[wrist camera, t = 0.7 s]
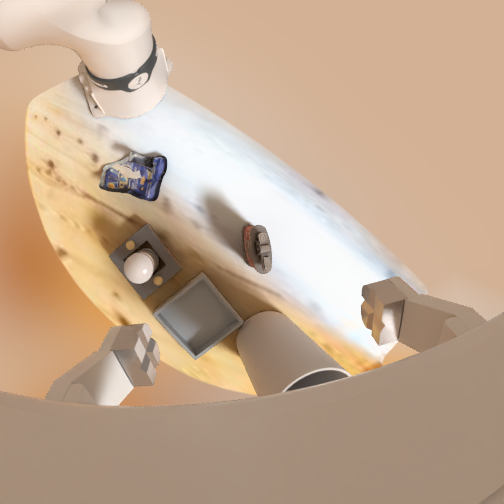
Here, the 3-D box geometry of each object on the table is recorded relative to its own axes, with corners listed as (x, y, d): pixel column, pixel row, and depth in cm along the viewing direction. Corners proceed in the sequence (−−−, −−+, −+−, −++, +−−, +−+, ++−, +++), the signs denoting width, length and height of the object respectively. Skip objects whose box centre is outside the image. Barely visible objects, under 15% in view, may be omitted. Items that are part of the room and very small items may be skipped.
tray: (154, 309, 51) (152, 314, 48) (202, 270, 52) (203, 273, 49) (194, 353, 53) (195, 360, 50) (241, 317, 55) (244, 322, 52)
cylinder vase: (225, 353, 55) (253, 433, 30) (253, 300, 55) (302, 356, 31) (276, 371, 58) (325, 444, 34) (304, 322, 58) (372, 378, 34)
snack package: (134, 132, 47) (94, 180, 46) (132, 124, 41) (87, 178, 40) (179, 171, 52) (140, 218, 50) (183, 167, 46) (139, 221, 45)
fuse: (130, 258, 49) (118, 266, 40) (148, 242, 49) (140, 247, 40) (145, 277, 50) (136, 289, 41) (163, 262, 50) (158, 271, 41)
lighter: (239, 226, 53) (251, 227, 43) (256, 223, 53) (272, 223, 44) (245, 268, 54) (258, 278, 44) (262, 265, 55) (279, 274, 45)
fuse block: (113, 254, 48) (107, 256, 44) (148, 223, 49) (146, 223, 45) (146, 295, 50) (143, 301, 47) (182, 266, 51) (181, 269, 48)
